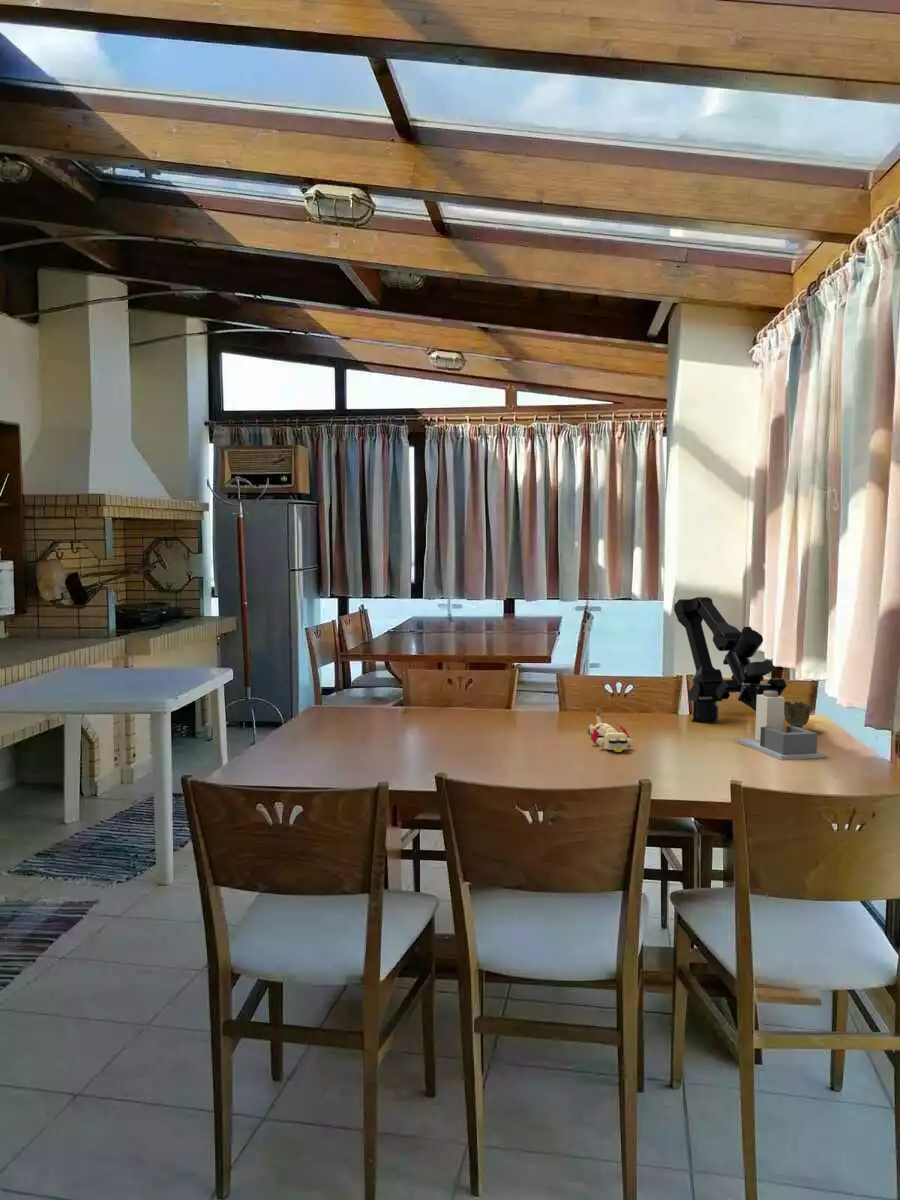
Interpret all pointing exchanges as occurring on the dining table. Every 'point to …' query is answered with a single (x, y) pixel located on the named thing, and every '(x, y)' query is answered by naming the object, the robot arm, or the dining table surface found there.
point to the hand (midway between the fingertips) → (762, 714)
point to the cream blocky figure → (609, 735)
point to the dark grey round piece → (797, 713)
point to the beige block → (769, 712)
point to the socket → (785, 743)
